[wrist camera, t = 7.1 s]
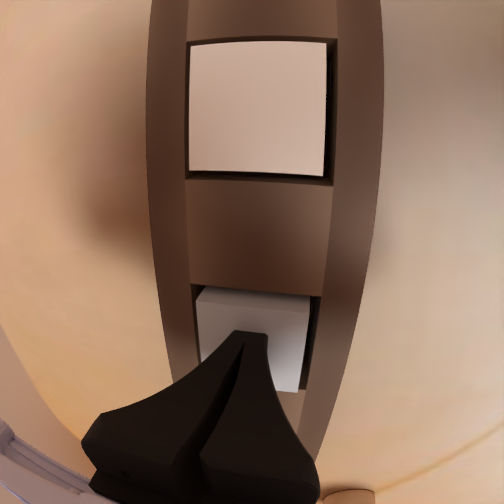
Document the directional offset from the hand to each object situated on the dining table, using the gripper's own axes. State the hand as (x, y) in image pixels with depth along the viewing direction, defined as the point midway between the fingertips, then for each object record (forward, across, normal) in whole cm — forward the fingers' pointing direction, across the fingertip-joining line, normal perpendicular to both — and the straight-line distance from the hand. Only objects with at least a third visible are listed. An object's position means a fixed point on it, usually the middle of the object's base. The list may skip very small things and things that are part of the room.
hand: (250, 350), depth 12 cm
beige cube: (+3, 0, -9) cm, 10 cm away
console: (+4, 0, 0) cm, 4 cm away
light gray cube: (+3, 0, 0) cm, 3 cm away
